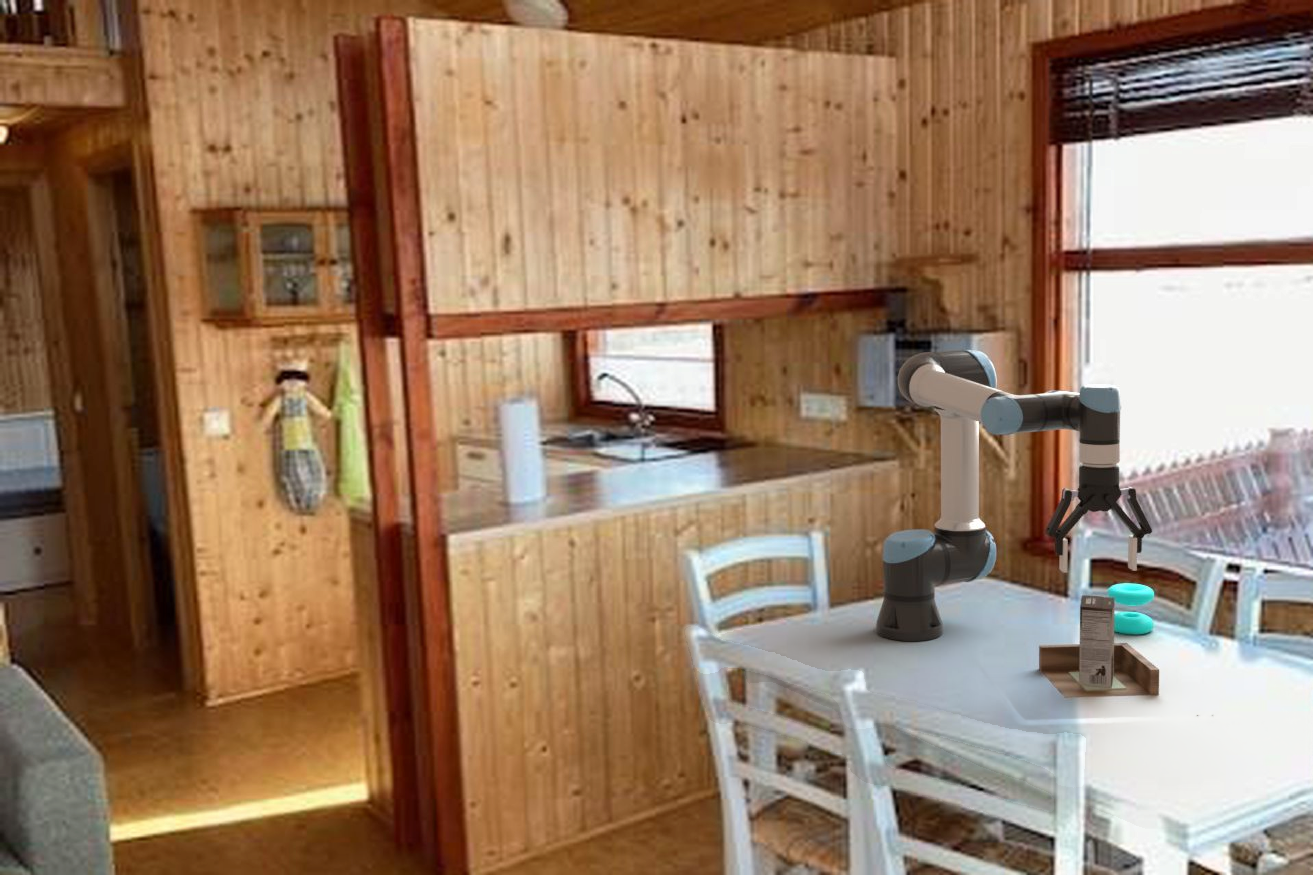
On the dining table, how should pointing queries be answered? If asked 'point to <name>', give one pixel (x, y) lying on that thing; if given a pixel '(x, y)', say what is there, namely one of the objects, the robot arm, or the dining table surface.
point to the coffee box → (1096, 641)
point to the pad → (1115, 686)
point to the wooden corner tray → (1127, 670)
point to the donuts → (1131, 597)
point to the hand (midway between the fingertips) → (1097, 570)
